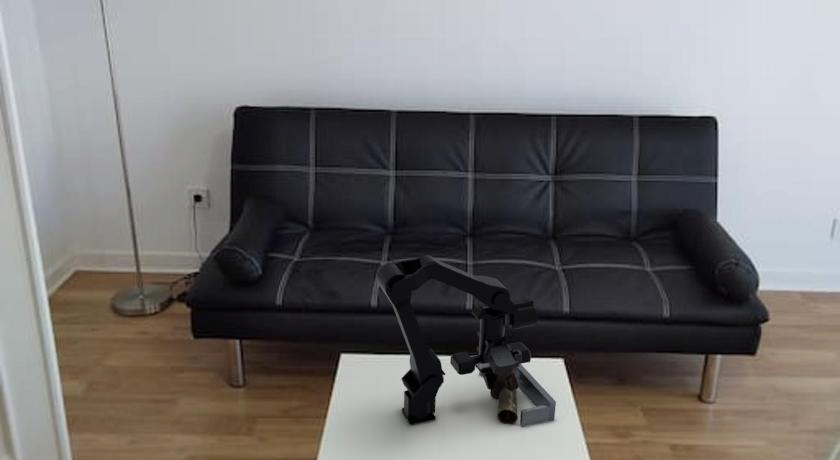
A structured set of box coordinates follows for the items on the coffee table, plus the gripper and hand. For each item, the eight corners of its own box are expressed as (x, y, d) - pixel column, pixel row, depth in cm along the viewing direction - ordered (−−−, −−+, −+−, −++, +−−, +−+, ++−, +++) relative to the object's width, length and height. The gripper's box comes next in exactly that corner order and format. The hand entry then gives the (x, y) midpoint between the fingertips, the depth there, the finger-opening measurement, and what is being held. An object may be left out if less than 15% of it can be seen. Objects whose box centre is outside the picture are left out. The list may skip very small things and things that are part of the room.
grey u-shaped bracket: (521, 426, 180) (523, 408, 178) (479, 374, 201) (480, 357, 199) (554, 420, 183) (555, 401, 181) (509, 369, 204) (510, 352, 202)
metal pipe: (517, 426, 181) (518, 405, 179) (488, 424, 182) (489, 403, 180) (517, 384, 197) (518, 365, 195) (490, 383, 198) (491, 363, 196)
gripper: (469, 354, 173) (467, 414, 178) (544, 340, 179) (539, 399, 184) (450, 331, 183) (448, 388, 188) (521, 319, 189) (518, 375, 194)
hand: (489, 388), depth 188 cm, fingers closed
